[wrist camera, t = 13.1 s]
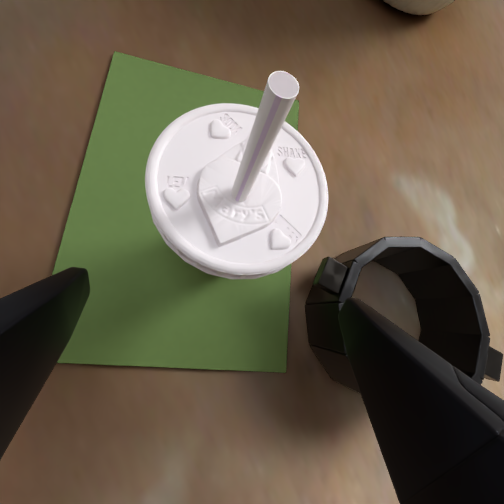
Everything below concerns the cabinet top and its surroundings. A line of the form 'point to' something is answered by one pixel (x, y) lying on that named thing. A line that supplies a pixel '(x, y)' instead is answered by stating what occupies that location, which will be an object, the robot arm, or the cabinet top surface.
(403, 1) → the canister
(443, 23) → the cabinet top surface
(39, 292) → the robot arm
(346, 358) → the pot
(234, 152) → the smoothie
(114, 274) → the cloth
